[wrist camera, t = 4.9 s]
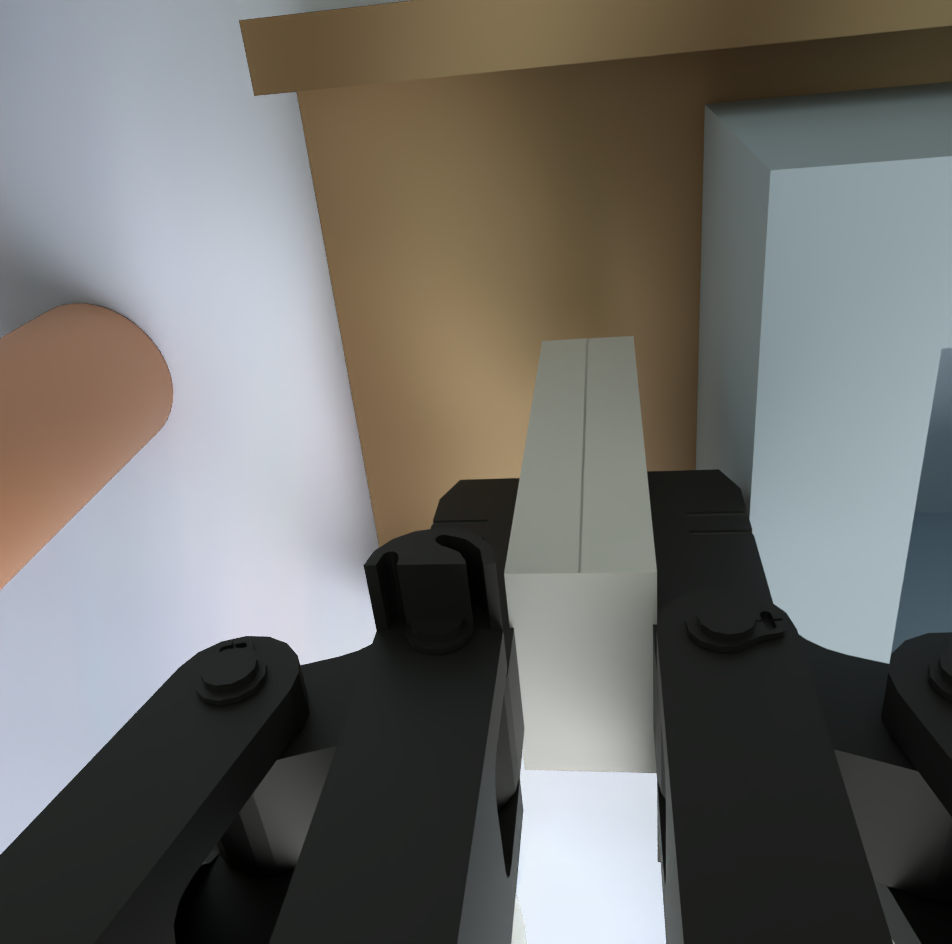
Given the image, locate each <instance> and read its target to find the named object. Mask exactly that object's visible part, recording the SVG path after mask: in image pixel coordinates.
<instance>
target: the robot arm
mask: <svg viewBox="0 0 952 944" xmlns="http://www.w3.org/2000/svg"><path fill="white" fill-rule="evenodd" d="M364 569H365V574H366V579H367V584H368V589H369V594H370V599H371V604H372V609H373V614H374V619H375V624H376V629H377V632H376V635H375V638H374V641H373V643H372V644H371V645H369V646H367V647H365V648H363V649H361V650H359V651H356V652H353V653H349V654H346V655H343V656H340V657H335V658H331V659H327V660H322V661H318V662H313V663H309V664H305V665H300V663H299V659H298V656H297V655H296V653H295V652H294V651H293V650H292V649H291V648H290V646H289V645H288V644H287V643H284V642H282V641H279V640H276V639H274V638H271V637H258V636H245V637H240V638H236V639H231V640H227V641H222V642H220V643H218V644H216V645H213V646H211V647H209V648H207V649H205V650H203V651H201V652H198V653H197V654H196V655H195V656H193V657H192V658H191V659H190V660H188V661H187V662H186V663H185V664H183V665H182V666H181V667H179V668H178V669H177V671H176V672H175V673H174V674H173V675H172V676H171V677H170V678H169V679H168V680H167V681H166V682H165V683H164V684H163V685H162V686H161V687H160V688H159V689H158V690H157V691H156V692H155V694H154V695H153V696H152V697H151V698H150V699H149V700H148V701H147V702H146V703H145V704H144V705H143V706H142V707H141V708H140V709H139V710H138V711H137V712H136V713H135V714H134V716H133V717H132V718H131V719H130V720H129V721H128V722H127V723H126V724H125V725H124V726H123V727H122V728H121V729H120V730H119V731H118V732H117V733H116V734H115V735H114V736H113V738H112V739H111V740H110V741H109V742H108V743H107V744H106V745H105V746H104V747H103V748H102V749H101V750H100V751H99V752H98V753H97V754H96V755H95V756H94V757H93V758H92V760H91V761H90V762H89V763H88V764H87V765H86V766H85V767H84V768H83V769H82V770H81V771H80V772H79V773H78V774H77V775H76V776H75V777H74V778H73V779H72V780H71V782H70V783H69V784H68V785H67V786H66V787H65V788H64V789H63V790H62V791H61V792H60V793H59V794H58V795H57V796H56V797H55V798H54V799H53V800H52V801H51V802H50V803H49V805H48V806H47V807H46V808H45V809H44V810H43V811H42V812H41V813H40V814H39V815H38V816H37V817H36V818H35V819H34V820H33V821H32V822H31V823H30V824H29V825H28V827H27V828H26V829H25V830H24V831H23V832H22V833H21V834H20V835H19V836H18V837H17V838H16V839H15V840H14V841H13V842H12V843H11V844H10V845H9V846H8V847H7V849H6V850H5V851H4V852H3V853H2V854H1V855H0V944H511V940H512V929H513V918H514V907H515V896H516V885H517V874H518V863H519V852H520V840H521V829H522V818H523V804H522V795H521V786H520V769H521V759H522V749H523V756H524V765H525V770H556V771H596V772H638V773H657V807H658V862H661V872H662V887H663V901H664V916H665V931H666V944H893V942H894V943H895V944H952V632H943V633H926V634H923V635H920V636H917V637H914V638H911V639H908V640H905V641H904V642H903V643H902V644H901V645H900V646H899V647H898V648H897V649H896V650H895V651H894V652H893V653H892V654H891V658H890V664H888V663H883V662H878V661H874V660H869V659H864V658H860V657H855V656H850V655H846V654H843V653H840V652H836V651H833V650H829V649H826V648H824V647H822V646H819V645H817V644H815V643H813V642H811V641H809V640H806V639H805V638H804V637H802V636H801V635H799V634H798V631H797V629H796V627H795V625H794V624H793V622H792V621H791V619H790V618H789V616H788V614H787V613H786V612H785V611H783V610H782V609H780V608H779V607H777V606H776V605H775V604H773V600H772V597H771V593H770V590H769V586H768V583H767V579H766V576H765V572H764V569H763V565H762V562H761V558H760V555H759V551H758V548H757V544H756V541H755V537H754V534H752V527H751V523H750V520H749V516H748V515H747V509H746V506H745V502H744V499H743V495H742V492H741V488H740V487H738V486H737V485H736V484H735V483H734V482H733V481H732V480H731V479H729V478H728V477H727V476H726V475H725V474H724V473H723V472H721V471H720V470H719V469H713V470H680V471H647V467H646V457H645V447H644V437H643V427H642V417H641V407H640V397H639V387H638V377H637V367H636V357H635V347H634V337H633V336H623V337H605V338H587V339H569V340H550V341H542V345H541V351H540V357H539V363H538V369H537V375H536V381H535V387H534V394H533V400H532V406H531V412H530V418H529V424H528V430H527V436H526V443H525V449H524V455H523V461H522V467H521V473H520V478H501V479H467V480H459V481H458V482H457V483H456V484H455V485H454V486H453V487H452V488H451V489H450V490H449V491H448V492H447V493H446V494H445V495H443V496H442V497H441V498H440V500H439V503H438V506H437V509H436V513H435V516H434V519H433V525H431V528H430V529H428V530H420V531H414V532H411V533H408V534H405V535H403V536H400V537H397V538H394V539H392V540H390V541H389V542H387V543H386V544H384V545H383V546H381V547H380V548H378V549H377V550H375V551H374V552H373V553H372V555H371V556H370V558H369V559H368V560H367V562H366V563H365V564H364ZM892 940H893V941H892Z"/></svg>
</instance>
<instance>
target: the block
mask: <svg viewBox="0 0 952 944" xmlns="http://www.w3.org/2000/svg"><path fill="white" fill-rule="evenodd" d="M713 469H719V470H720V471H721V472H723V473H724V474H725V475H726V476H727V477H728V478H729V479H731V480H732V481H733V482H734V483H735V484H736V485H737V486H738V487H740V488H741V492H742V495H743V499H744V502H745V506H746V509H747V515H748V516H749V520H750V523H751V527H752V534H754V537H755V541H756V544H757V548H758V551H759V555H760V558H761V562H762V565H763V569H764V572H765V576H766V579H767V583H768V586H769V590H770V593H771V597H772V600H773V604H775V605H776V606H777V607H779V608H780V609H782V610H783V611H785V612H786V613H787V614H788V616H789V618H790V619H791V621H792V622H793V624H794V625H795V627H796V629H797V631H798V634H799V635H801V636H802V637H804V638H805V639H806V640H809V641H811V642H813V643H815V644H817V645H819V646H822V647H824V648H826V649H829V650H833V651H836V652H840V653H843V654H846V655H850V656H855V657H860V658H864V659H869V660H874V661H878V662H883V663H888V664H890V658H891V654H892V653H893V652H894V651H895V650H896V649H897V648H898V647H899V646H900V645H901V644H902V643H903V642H904V641H905V640H908V639H911V638H914V637H917V636H920V635H923V634H926V633H943V632H952V82H941V83H930V84H919V85H908V86H897V87H886V88H876V89H865V90H854V91H843V92H832V93H821V94H810V95H799V96H788V97H777V98H766V99H755V100H744V101H733V102H723V103H712V104H705V120H704V160H703V200H702V240H701V280H700V320H699V360H698V400H697V440H696V470H713Z"/></svg>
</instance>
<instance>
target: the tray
mask: <svg viewBox="0 0 952 944" xmlns="http://www.w3.org/2000/svg"><path fill="white" fill-rule="evenodd" d="M239 23H240V27H241V32H242V37H243V42H244V47H245V52H246V57H247V62H248V67H249V72H250V77H251V82H252V86H253V91H254V96H258V95H268V94H278V93H287V92H297V97H298V102H299V108H300V113H301V119H302V124H303V130H304V135H305V141H306V146H307V152H308V157H309V163H310V168H311V174H312V179H313V185H314V190H315V196H316V201H317V207H318V212H319V218H320V223H321V229H322V234H323V240H324V245H325V251H326V256H327V262H328V267H329V273H330V278H331V284H332V289H333V295H334V300H335V306H336V311H337V317H338V322H339V328H340V333H341V339H342V344H343V350H344V355H345V361H346V366H347V372H348V377H349V383H350V388H351V394H352V399H353V405H354V410H355V416H356V421H357V427H358V432H359V438H360V443H361V449H362V454H363V460H364V465H365V471H366V476H367V482H368V487H369V493H370V498H371V504H372V509H373V515H374V520H375V526H376V531H377V537H378V542H379V548H380V547H381V546H383V545H384V544H386V543H387V542H389V541H390V540H392V539H394V538H397V537H400V536H403V535H405V534H408V533H411V532H414V531H420V530H428V529H430V528H431V525H433V519H434V516H435V513H436V509H437V506H438V503H439V500H440V498H441V497H442V496H443V495H445V494H446V493H447V492H448V491H449V490H450V489H451V488H452V487H453V486H454V485H455V484H456V483H457V482H458V481H459V480H467V479H501V478H520V473H521V467H522V461H523V455H524V449H525V443H526V436H527V430H528V424H529V418H530V412H531V406H532V400H533V394H534V387H535V381H536V375H537V369H538V363H539V357H540V351H541V345H542V341H550V340H569V339H587V338H605V337H623V336H633V337H634V347H635V357H636V367H637V377H638V387H639V397H640V407H641V417H642V427H643V437H644V447H645V457H646V467H647V471H680V470H696V440H697V400H698V360H699V320H700V280H701V240H702V200H703V160H704V120H705V104H712V103H723V102H733V101H744V100H755V99H766V98H777V97H788V96H799V95H810V94H821V93H832V92H843V91H854V90H865V89H876V88H886V87H897V86H908V85H919V84H930V83H941V82H952V0H412V1H403V2H394V3H386V4H377V5H368V6H360V7H351V8H342V9H334V10H325V11H316V12H307V13H299V14H290V15H281V16H273V17H264V18H255V19H247V20H239Z"/></svg>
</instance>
